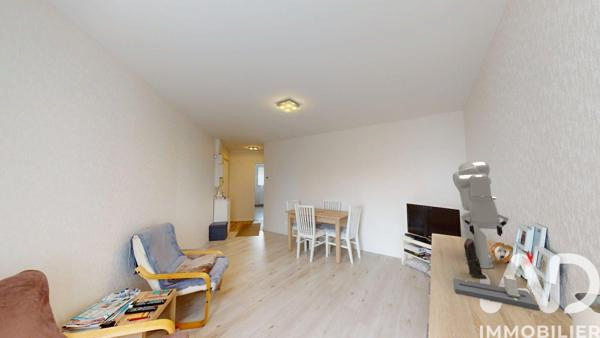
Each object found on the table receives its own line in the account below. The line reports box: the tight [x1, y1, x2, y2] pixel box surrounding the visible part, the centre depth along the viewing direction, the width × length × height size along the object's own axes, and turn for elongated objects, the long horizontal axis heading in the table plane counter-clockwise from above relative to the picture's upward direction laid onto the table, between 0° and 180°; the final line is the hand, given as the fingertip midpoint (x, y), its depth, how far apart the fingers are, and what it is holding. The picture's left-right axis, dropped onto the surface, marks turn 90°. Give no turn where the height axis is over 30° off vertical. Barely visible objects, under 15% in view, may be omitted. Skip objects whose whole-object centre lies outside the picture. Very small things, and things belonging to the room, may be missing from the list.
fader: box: [503, 273, 521, 298], centre depth 86 cm, size 4×7×7 cm, turn 145°
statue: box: [463, 238, 488, 280], centre depth 108 cm, size 7×7×20 cm
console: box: [453, 277, 540, 311], centre depth 90 cm, size 26×12×2 cm, turn 55°
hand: (485, 234), depth 97 cm, fingers open, 9 cm apart
